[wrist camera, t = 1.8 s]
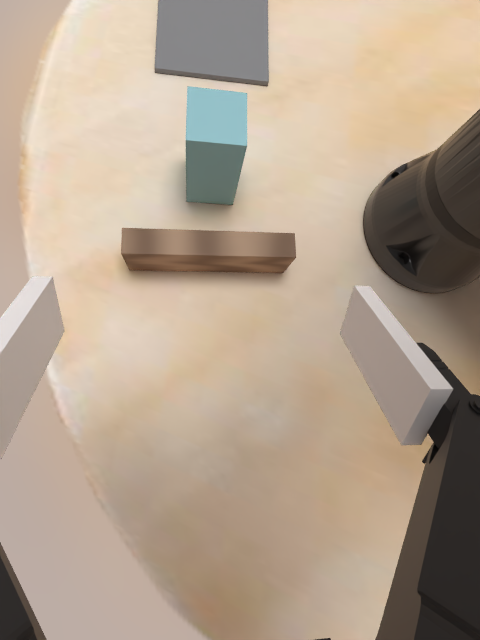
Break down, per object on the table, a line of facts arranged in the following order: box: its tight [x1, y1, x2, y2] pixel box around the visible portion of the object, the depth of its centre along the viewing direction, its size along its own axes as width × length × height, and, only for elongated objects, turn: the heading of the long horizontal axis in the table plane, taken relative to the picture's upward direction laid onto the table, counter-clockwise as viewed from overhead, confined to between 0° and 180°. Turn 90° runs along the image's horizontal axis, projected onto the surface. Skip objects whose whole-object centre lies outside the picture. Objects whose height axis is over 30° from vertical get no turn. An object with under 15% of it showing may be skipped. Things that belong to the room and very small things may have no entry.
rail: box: [121, 228, 296, 273], centre depth 36 cm, size 16×2×5 cm, turn 91°
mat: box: [155, 0, 269, 86], centre depth 44 cm, size 13×18×1 cm
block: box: [186, 86, 247, 205], centre depth 35 cm, size 5×5×10 cm
